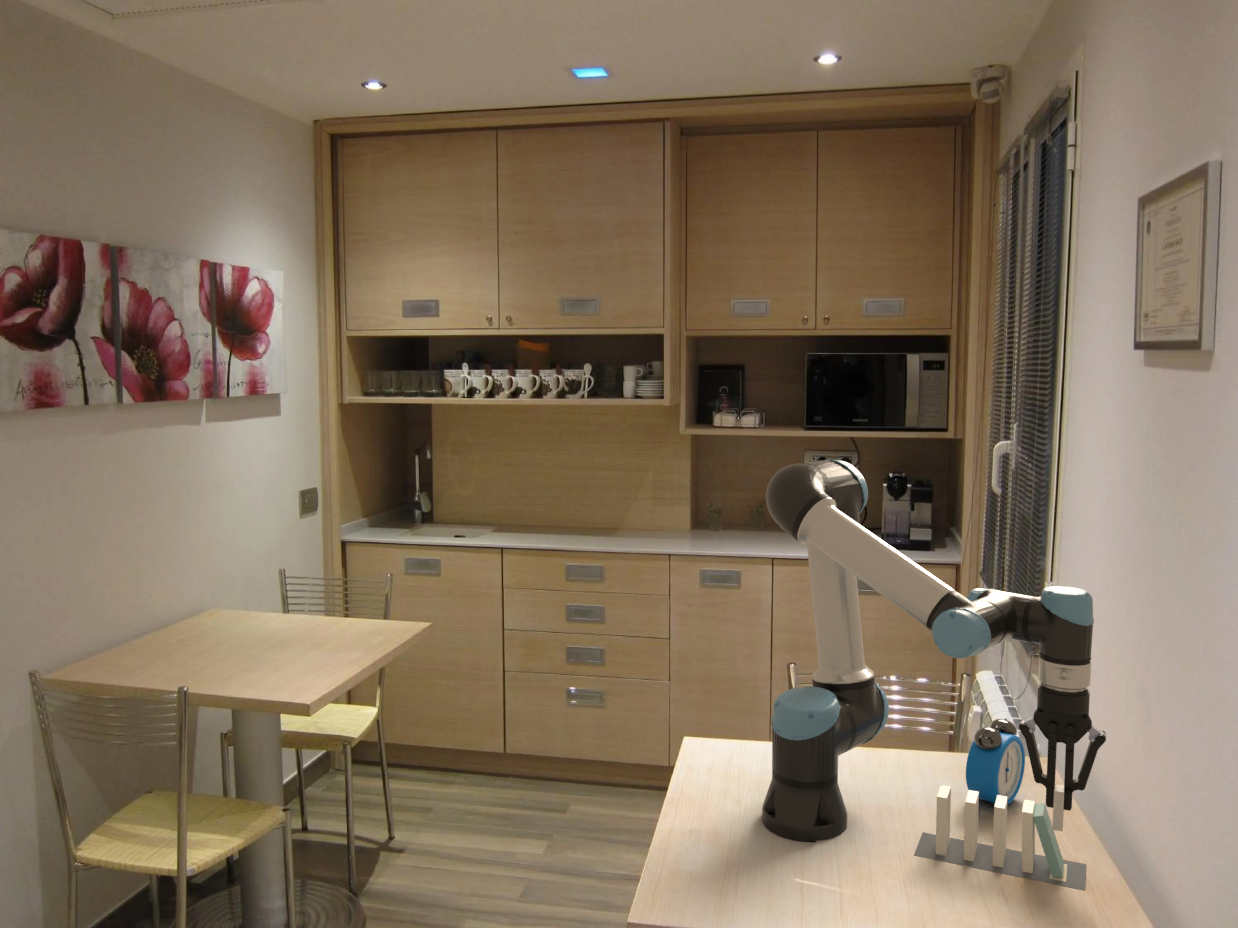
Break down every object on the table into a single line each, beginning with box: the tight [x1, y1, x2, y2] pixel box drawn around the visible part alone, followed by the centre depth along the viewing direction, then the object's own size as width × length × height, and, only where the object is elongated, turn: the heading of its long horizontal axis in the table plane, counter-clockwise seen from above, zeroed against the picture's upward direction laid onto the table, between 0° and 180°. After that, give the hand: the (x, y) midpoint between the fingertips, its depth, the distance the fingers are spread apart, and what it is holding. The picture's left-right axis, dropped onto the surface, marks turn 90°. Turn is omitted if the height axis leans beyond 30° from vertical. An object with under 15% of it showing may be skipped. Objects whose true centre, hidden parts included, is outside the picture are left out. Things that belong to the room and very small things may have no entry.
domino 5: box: [1033, 802, 1064, 877], centre depth 158 cm, size 2×5×10 cm, turn 153°
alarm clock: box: [965, 718, 1026, 806], centre depth 184 cm, size 13×6×15 cm, turn 135°
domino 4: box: [1021, 799, 1036, 873], centre depth 160 cm, size 2×5×10 cm, turn 154°
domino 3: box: [992, 795, 1008, 867], centre depth 161 cm, size 2×5×10 cm, turn 154°
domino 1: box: [935, 785, 952, 856], centre depth 165 cm, size 2×5×10 cm, turn 154°
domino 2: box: [963, 790, 980, 862], centre depth 163 cm, size 2×5×10 cm, turn 154°
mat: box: [913, 832, 1087, 891], centre depth 162 cm, size 26×9×1 cm, turn 64°
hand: (1057, 826), depth 158 cm, fingers closed
